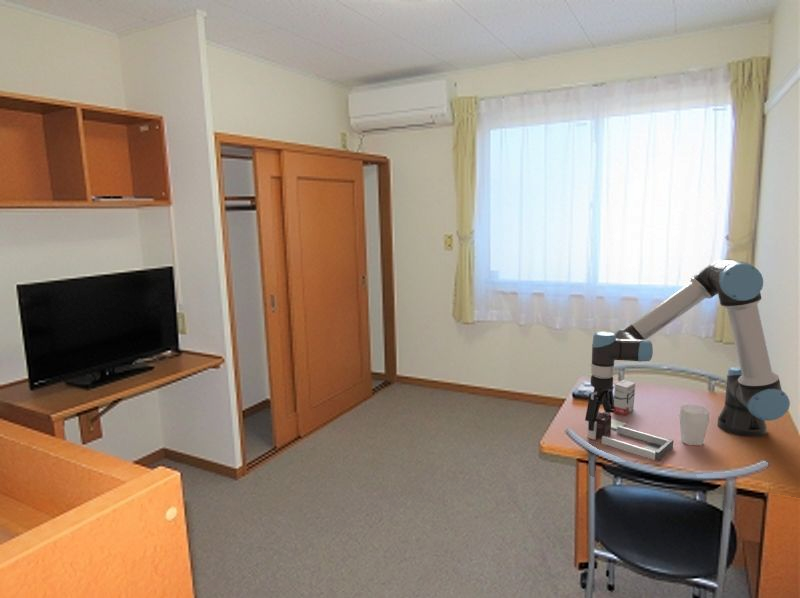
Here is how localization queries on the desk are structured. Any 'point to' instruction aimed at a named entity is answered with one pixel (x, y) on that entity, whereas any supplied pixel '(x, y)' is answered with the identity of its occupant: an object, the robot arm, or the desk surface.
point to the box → (603, 425)
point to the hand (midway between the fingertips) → (598, 433)
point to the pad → (616, 424)
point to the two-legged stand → (652, 450)
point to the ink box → (624, 397)
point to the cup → (693, 424)
